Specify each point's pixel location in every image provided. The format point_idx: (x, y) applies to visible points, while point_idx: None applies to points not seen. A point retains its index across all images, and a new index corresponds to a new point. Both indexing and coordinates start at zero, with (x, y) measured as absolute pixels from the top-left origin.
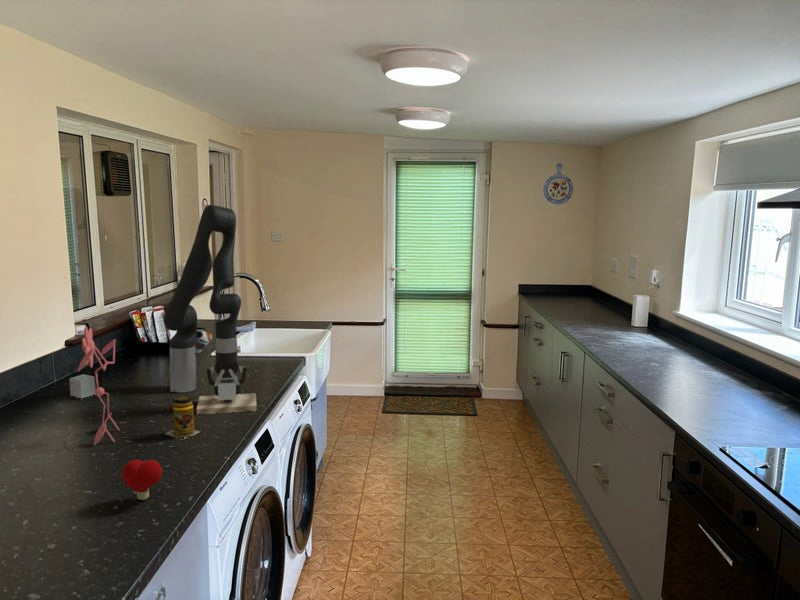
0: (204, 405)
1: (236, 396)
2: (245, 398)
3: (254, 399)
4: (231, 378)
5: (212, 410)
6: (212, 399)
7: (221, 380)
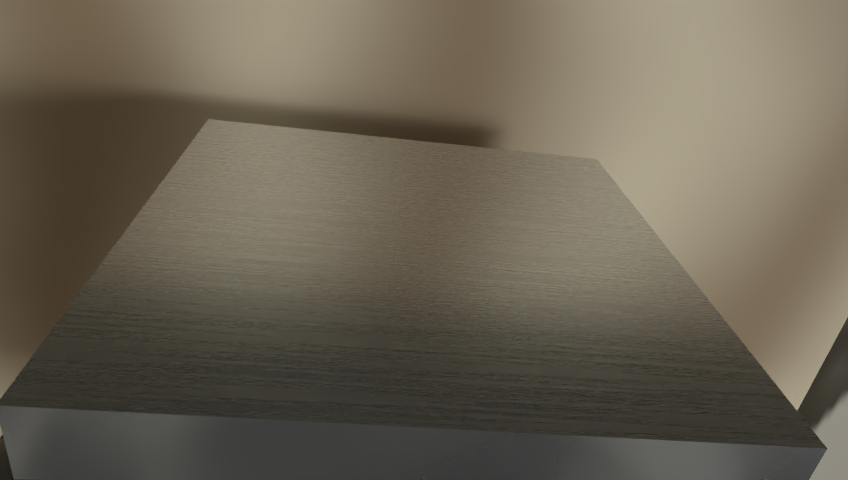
0: (3, 376)
1: (596, 52)
2: (716, 220)
3: (828, 304)
4: (630, 449)
5: None
6: (89, 110)
7: (172, 444)
